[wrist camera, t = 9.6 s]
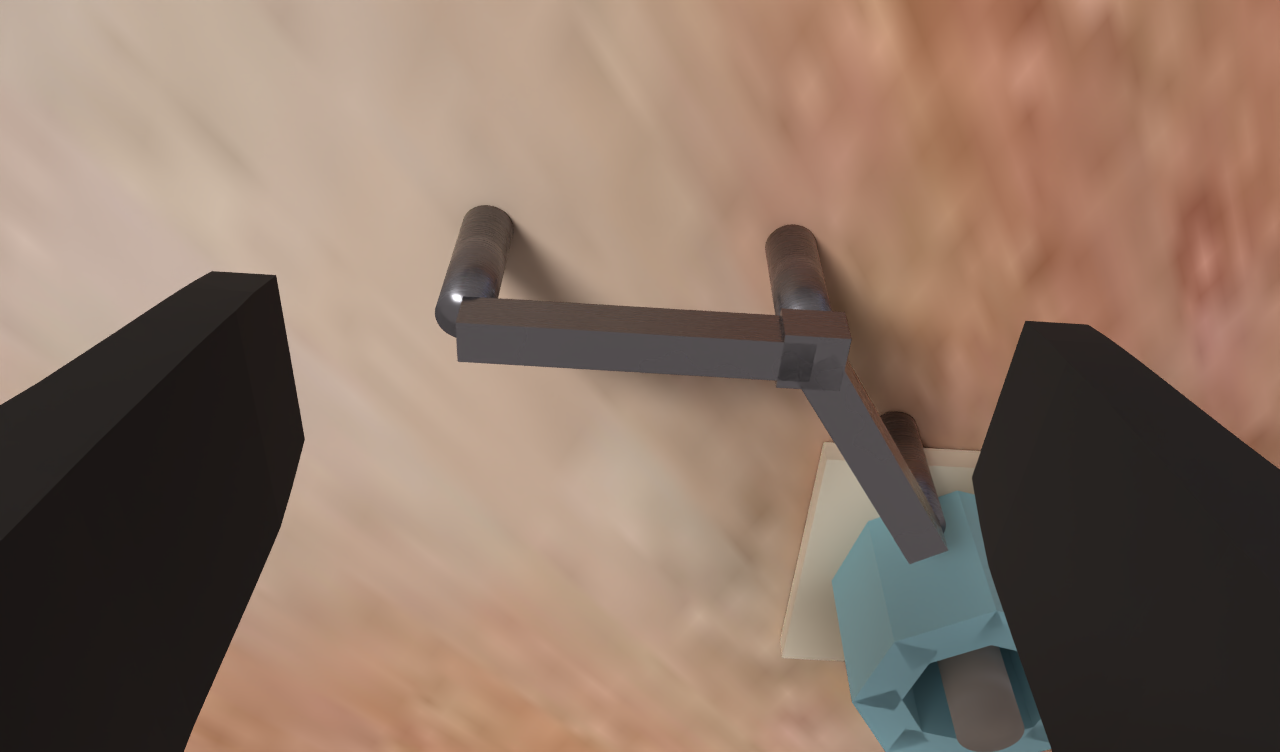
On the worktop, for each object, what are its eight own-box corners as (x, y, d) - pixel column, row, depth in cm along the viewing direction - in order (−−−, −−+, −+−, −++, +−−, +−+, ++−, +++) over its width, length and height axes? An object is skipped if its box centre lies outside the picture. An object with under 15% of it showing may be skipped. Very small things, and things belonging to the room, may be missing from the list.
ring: (1024, 467, 23) (1073, 587, 21) (1081, 605, 26) (1132, 727, 23) (807, 542, 25) (825, 663, 22) (883, 664, 28) (908, 786, 25)
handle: (972, 233, 20) (1028, 349, 17) (910, 447, 24) (948, 576, 21) (461, 201, 20) (424, 313, 17) (471, 421, 24) (442, 548, 20)
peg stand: (1127, 459, 24) (1219, 634, 20) (1038, 653, 28) (1100, 829, 24) (824, 441, 24) (855, 614, 20) (779, 639, 28) (799, 814, 24)
